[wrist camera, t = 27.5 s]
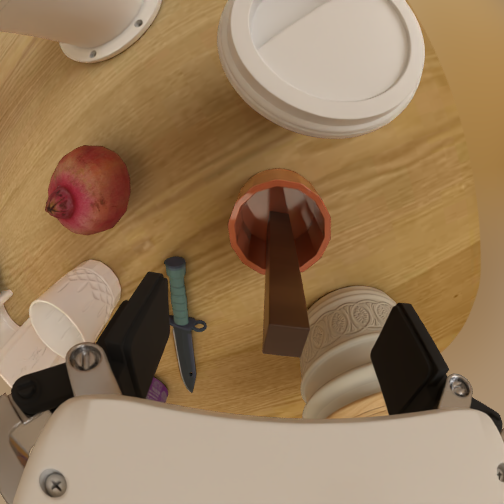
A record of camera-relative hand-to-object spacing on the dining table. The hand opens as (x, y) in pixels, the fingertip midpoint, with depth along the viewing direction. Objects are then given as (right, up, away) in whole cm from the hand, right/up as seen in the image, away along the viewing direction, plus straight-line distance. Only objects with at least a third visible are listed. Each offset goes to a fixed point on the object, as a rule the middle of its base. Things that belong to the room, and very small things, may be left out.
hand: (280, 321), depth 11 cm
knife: (-9, -8, +23) cm, 26 cm away
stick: (+1, +6, +15) cm, 16 cm away
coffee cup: (+3, +18, +10) cm, 21 cm away
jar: (+11, -6, +21) cm, 24 cm away
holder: (+1, +7, +15) cm, 17 cm away
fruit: (-15, +10, +15) cm, 24 cm away
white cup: (-20, -1, +21) cm, 29 cm away
